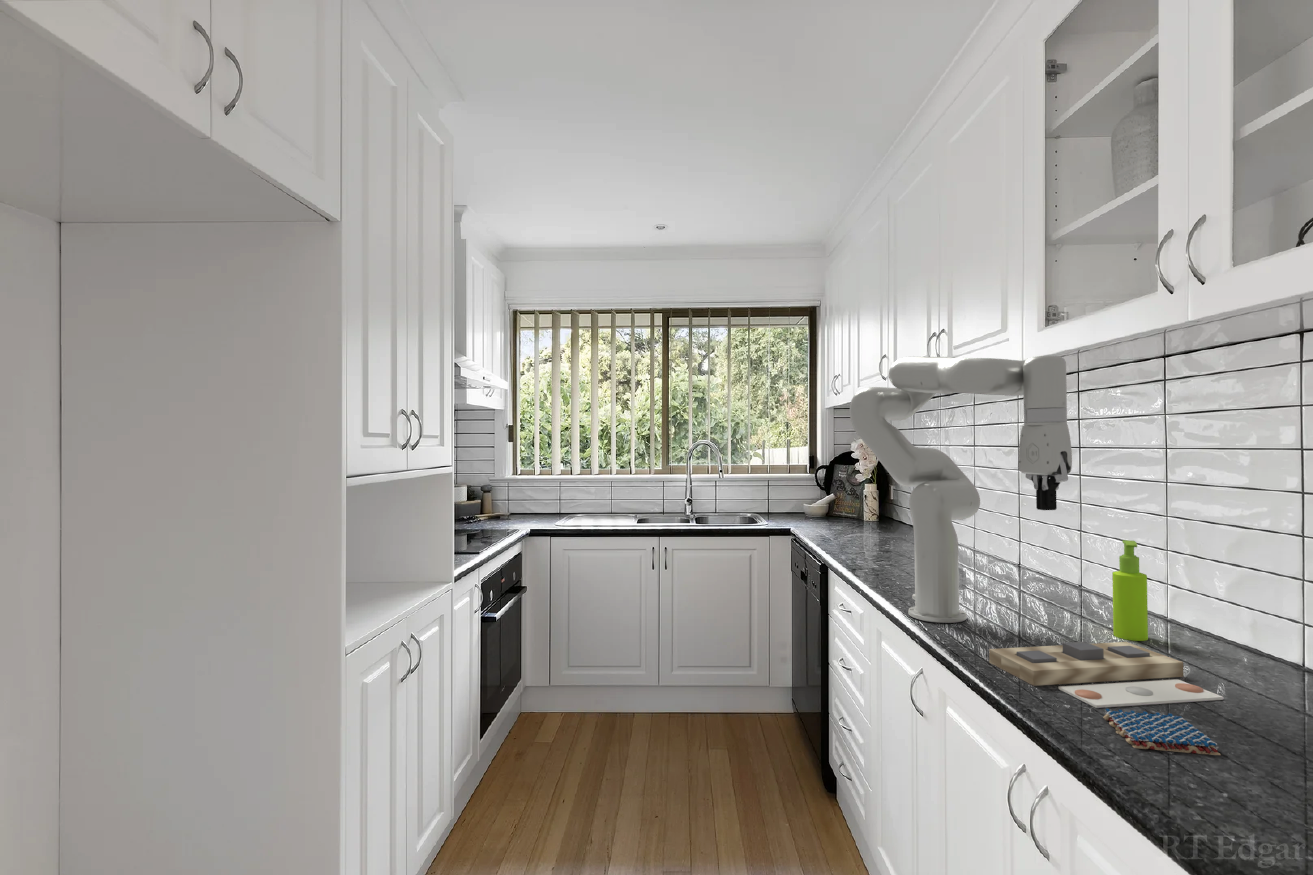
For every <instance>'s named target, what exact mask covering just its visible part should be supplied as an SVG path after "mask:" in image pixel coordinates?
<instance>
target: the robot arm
mask: <svg viewBox="0 0 1313 875" xmlns="http://www.w3.org/2000/svg"><path fill="white" fill-rule="evenodd" d="M888 378H889V381H890V383H891V384H892V386H893V387H883V386H881V387H880V386H873V387H867V388H866V387H865V388H863V389H859V391H857V392H856V393H854V395H853V397H852V398H851V401H850V405H849V418H850V422H851V426H852V427H853V430H854V431H855V433H856V434H857V436H858V437H859V438H860V439H861V441H862V442H863V443H864V444H865V445H866V446H867V447H868V448H869V449H870V450H871V452H872V453H873V454H874V456H875V457H876V458H877V459H878V461H879V462H880V463H881V465H882V466H883V467H884V469H885V470H886V471H887V473H889V475H890V476H891V478H893V480H894V481H895V483H897V484H898V485H899V486H901V487H905V488H913V490H912V491H911V492H910V495H909V500H908V504H909V505H908V506H909V512H910V516H911V520H912V528H913V546H914V548H913V549H914V553H913V554H914V593H913V594H912V595H911V598H912V600H914V601H915V602H914V606H911V607H909V608H908V610H907V611H908V612H907V613H908V615H909V616H910V617H912V618H914V619H916V620H920V621H924V622H930V623H938V624H952V623H953V624H954V623H961V622H964V621H966V620H967V619H968V615H967V612H965V611H963V610H962V609H960V571H959V568H960V567H959V564H960V563H959V540H958V535H957V531H956V529H955V527H954V524H953V521H958V520H965V519H969V518H971V517H973V516H974V515H976V514H977V512H978V511H979V508H980V507H981V498H980V493H979V491H978V489H977V488H976V486H975V485H974V484H973V482H972V481H971V480H970V479H969V478H968V476H967V475H966V474H965V473H964V472H963V470H962V469H961V468H960V467H959V466H958V465H957V464H956V463H955V462H954V461H953V459H952V458H951V457H950V456H948V454H946V453H944V452H943V451H942V450H940V449H937V448H934V447H917V446H915V445H914V444H913V443H912V442H910V441H909V440H908V439H907V437H906V436H905V434H904V433H903V432H901V430H900V429H899V428H897V427H895V426H894V425H892V424H891V423H890V422H888V421H904V420H906V419H909V418H910V417H911V418H912V417H913V415H915V414H917V412H918V411H920V409H922V407H923V406H924V405H925V404H927V402H929V401H930V400H931V399H932V398H934V396H935V395H936V394H939V395H941V394H942V395H943V394H944V395H952V394H955V393H957V394H973V395H987V396H1012V397H1018V396H1023V398H1022V399H1023V425H1022V426H1021V431H1020V435H1019V445H1018V471H1019V472H1020V473H1022V474H1025V478H1026V479H1027V480H1030V481H1032V483H1033V488H1034V489H1035V493H1036V494H1035V495H1036V497H1035V498H1036V499H1035V501H1036V502H1035V503H1036V510H1037V511H1038V510H1039V511H1056V510H1057V508H1058V507H1057V491H1058V490H1059V489H1060V488H1059V487H1060V484H1061V483H1064V482H1067V481H1068V480H1069V476H1068V475H1069V474H1070V473H1071V472H1072V468H1073V454H1072V453H1073V452H1072V451H1073V450H1072V442H1071V435H1070V429H1069V425H1068V411H1067V410H1068V408H1067V407H1068V406H1067V400H1068V399H1067V395H1068V394H1067V387H1068V386H1067V362H1066V360H1065V358H1064V357H1062V356H1060V355H1039V356H1032V357H1029V358H1027V359H1025V360H1020V359H1019V360H1016V359H1008V358H989V357H987V358H986V357H977V358H976V357H955V356H905V357H901V358H898V359H897V360H896V361H894V362H893V363H892V364H891V366H890V367H889V371H888Z"/></svg>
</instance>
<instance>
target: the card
mask: <svg viewBox="0 0 1313 875" xmlns="http://www.w3.org/2000/svg"><path fill="white" fill-rule="evenodd" d="M1058 690H1060V691H1061V692H1063V693H1065V694H1066V695H1067V694H1068V695H1070V696H1071V697H1074V698H1075V699H1078V700H1080V701H1081V702H1083V703H1084V704H1087V705H1089V706H1091V707H1093V708H1095V709H1099V708H1100V709H1101V708H1114V707H1117V708H1118V707H1131V706H1147V705H1149V706H1150V705H1159V704H1160V705H1164V704H1177V703H1178V704H1179V703H1191V702H1192V703H1193V702H1205V701H1206V702H1207V701H1208V702H1209V701H1221V700H1223V701H1224V696H1222V695H1220V694H1216V693H1215V692H1212V691H1209V690H1207V689H1205V688H1203V687H1201V686H1198V685H1195V684H1191V683H1188V682H1185V681H1183V680H1181V679H1177V678H1176V679H1161V680H1160V679H1159V680H1146V681H1145V680H1144V681H1132V682H1131V681H1127V682H1115V683H1112V682H1111V683H1095V684H1082V685H1081V684H1080V685H1079V684H1078V685H1066V686H1065V685H1064V686H1058Z"/></svg>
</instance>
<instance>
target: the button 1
mask: <svg viewBox="0 0 1313 875" xmlns="http://www.w3.org/2000/svg"><path fill="white" fill-rule="evenodd" d="M1017 656H1019V657H1021V658H1023V659H1025V660H1027V661H1029V662H1031V663H1046V662H1057V658H1055V657H1053V656H1051V655H1048V654H1046V653H1044V652H1042V651H1039V650H1038V651H1019V652H1017Z"/></svg>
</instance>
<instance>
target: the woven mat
mask: <svg viewBox="0 0 1313 875" xmlns="http://www.w3.org/2000/svg"><path fill="white" fill-rule="evenodd" d="M1105 712H1106V713H1105V715H1104V716H1103V717H1102V718H1103V719H1104V720H1105V721H1108V723H1109V724H1108V725H1110V726H1111V727H1113V728H1115V733H1116V734H1118V735H1120V736H1121V737H1123V738H1125V741H1126V743H1128V744H1129V745H1131V746H1132V747H1133V748H1134V749H1142V750H1148V749H1149V750H1153V751H1154V750H1155V751H1166V752H1178V753H1187V754H1198V755H1199V754H1200V755H1212V756H1222V754H1221V753H1220V752H1218V749H1219V746H1218V743H1216V742H1215V741H1213V740H1211V738H1210V737H1208V735H1207V734H1204V732H1201V731H1200V730H1199V728H1196V727H1195V726H1194V725H1193V724H1191V723H1190V722H1188V721H1187V719H1185V718H1183V717H1182V715H1179V716H1178V715H1174V714H1173V713H1167V714H1162V715H1161V713H1160V712H1155V713H1148V712H1147V711H1142V712H1135V710H1130V711H1129V712H1128V711H1124V712H1123V710H1122V709H1118V710H1117V711H1115V710H1112V711H1111V710H1110V708H1105Z"/></svg>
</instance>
